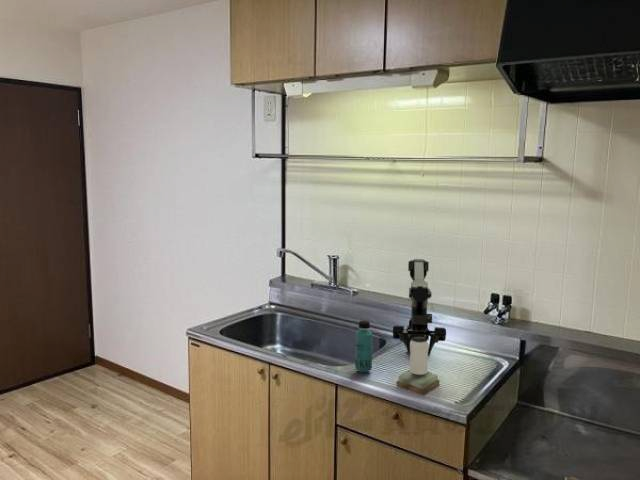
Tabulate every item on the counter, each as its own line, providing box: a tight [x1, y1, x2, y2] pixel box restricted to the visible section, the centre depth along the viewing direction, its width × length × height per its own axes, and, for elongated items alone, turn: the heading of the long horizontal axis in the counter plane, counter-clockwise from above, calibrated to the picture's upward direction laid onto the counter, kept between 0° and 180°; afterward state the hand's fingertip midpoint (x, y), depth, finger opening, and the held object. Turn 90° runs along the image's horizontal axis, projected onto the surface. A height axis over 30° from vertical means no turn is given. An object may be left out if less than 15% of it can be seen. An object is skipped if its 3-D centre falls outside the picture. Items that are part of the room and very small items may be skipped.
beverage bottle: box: [354, 320, 373, 373], centre depth 198 cm, size 6×7×20 cm
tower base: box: [396, 369, 440, 396], centre depth 187 cm, size 11×11×4 cm
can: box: [408, 337, 429, 375], centre depth 185 cm, size 6×6×12 cm
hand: (418, 355), depth 184 cm, fingers closed on can, 6 cm apart
